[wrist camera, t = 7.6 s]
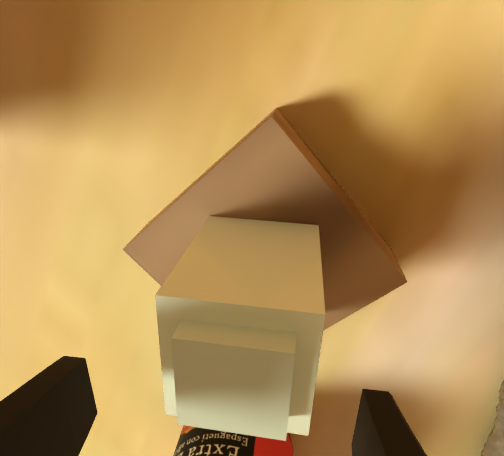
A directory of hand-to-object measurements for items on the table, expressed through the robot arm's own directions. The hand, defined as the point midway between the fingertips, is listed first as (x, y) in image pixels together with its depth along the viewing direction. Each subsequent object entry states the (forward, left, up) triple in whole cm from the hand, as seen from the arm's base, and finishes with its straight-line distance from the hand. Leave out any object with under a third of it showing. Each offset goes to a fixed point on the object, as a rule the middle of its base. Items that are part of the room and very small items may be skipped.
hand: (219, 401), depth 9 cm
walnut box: (0, 0, -11) cm, 11 cm away
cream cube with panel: (0, 0, -7) cm, 7 cm away
